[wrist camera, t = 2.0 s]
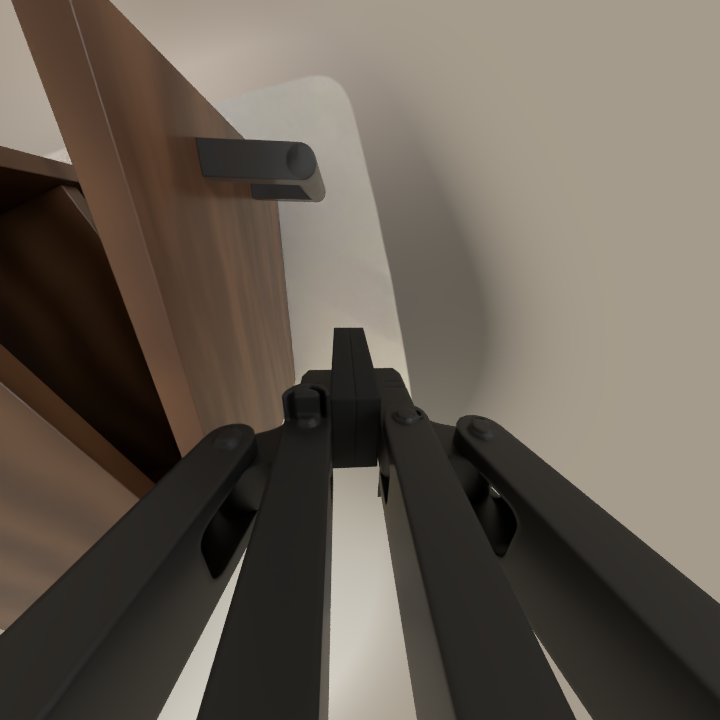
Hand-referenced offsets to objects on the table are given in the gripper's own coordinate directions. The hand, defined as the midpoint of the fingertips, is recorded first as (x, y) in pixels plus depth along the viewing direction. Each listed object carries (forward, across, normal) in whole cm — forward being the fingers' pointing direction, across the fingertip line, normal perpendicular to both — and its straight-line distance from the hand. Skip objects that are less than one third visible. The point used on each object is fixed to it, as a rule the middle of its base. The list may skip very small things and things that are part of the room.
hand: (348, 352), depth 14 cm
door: (+22, -5, -1) cm, 23 cm away
